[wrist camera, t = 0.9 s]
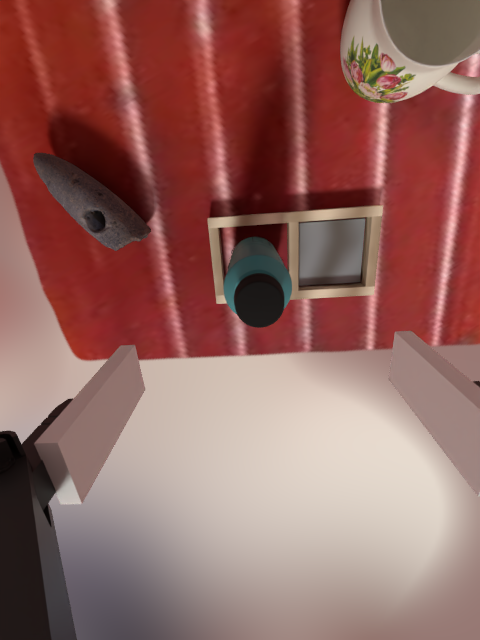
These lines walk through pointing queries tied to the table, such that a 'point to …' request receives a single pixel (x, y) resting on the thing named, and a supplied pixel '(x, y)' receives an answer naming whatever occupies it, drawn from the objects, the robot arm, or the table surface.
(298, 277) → the bottle rack
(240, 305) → the beverage bottle
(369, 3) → the pitcher
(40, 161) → the perforated stone tool
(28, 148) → the table surface
